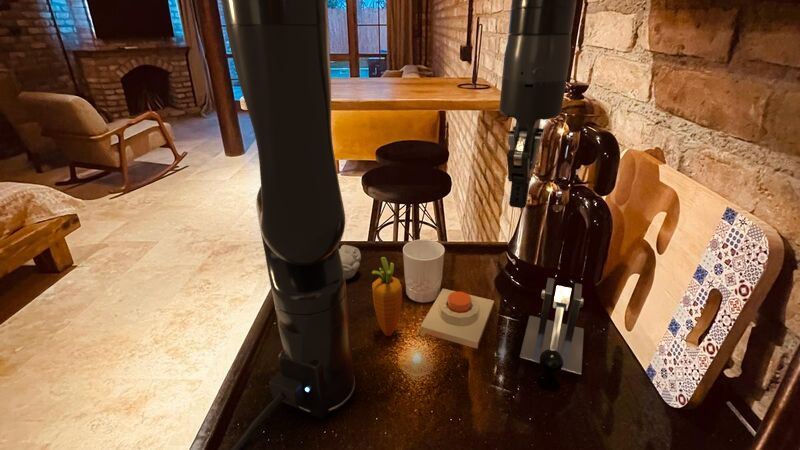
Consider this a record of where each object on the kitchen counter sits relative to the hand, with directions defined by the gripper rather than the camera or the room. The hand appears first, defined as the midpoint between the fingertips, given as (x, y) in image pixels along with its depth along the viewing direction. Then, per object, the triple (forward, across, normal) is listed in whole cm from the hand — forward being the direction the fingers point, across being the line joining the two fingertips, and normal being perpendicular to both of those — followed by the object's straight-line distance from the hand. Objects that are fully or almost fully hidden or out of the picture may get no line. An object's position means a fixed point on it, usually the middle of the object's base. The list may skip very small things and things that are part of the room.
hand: (517, 205), depth 57 cm
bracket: (+25, -2, +8) cm, 26 cm away
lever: (+19, +2, +8) cm, 21 cm away
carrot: (+25, +6, -18) cm, 32 cm away
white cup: (+25, -8, -17) cm, 31 cm away
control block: (+25, -2, -8) cm, 26 cm away
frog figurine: (+25, -7, -34) cm, 43 cm away
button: (+21, -2, -8) cm, 23 cm away
